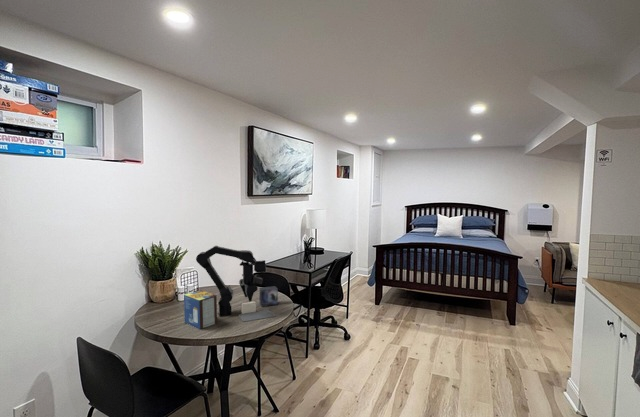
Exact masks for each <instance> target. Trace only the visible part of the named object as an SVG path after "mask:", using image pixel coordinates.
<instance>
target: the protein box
mask: <svg viewBox="0 0 640 417" xmlns="http://www.w3.org/2000/svg"><path fill="white" fill-rule="evenodd" d="M217 300H218V299H217V294H215V293H210V292H209V291H208V292H207V291H204V290H197V291H194V292H188V293H184V294H183V301H184V303H183V306H184V310H183V311H184V323H185V324H187V323H188V324H187V325H189V324H190V325H189V326H191V325H192V326H191V327H193V326H194V327H193V328H195V327H196V328H195V329H197V328H198V330H203V329H206V328H208V327H211V326H214V325H217V324H218V306H217V305H218V302H217Z"/></svg>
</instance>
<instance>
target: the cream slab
mask: <svg viewBox="0 0 640 417" xmlns="http://www.w3.org/2000/svg"><path fill="white" fill-rule="evenodd" d="M256 303H257V302H256V301H251V302H249V301H248V302H241V304H240V310H241V312H240V314H244V313H250V312H256V311H257V304H256Z"/></svg>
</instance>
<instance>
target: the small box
mask: <svg viewBox="0 0 640 417" xmlns="http://www.w3.org/2000/svg"><path fill="white" fill-rule="evenodd" d="M278 290H279V288H278V287H277V286H275V285H272V286H265V287H264V286H263V287H259V290H258V291H259V294H258V295H259V303H258V304H259V306H260V307H261V308H262V307H263V308H264V307H269V306H270V307H272V306H278V305H279V303H278V301H279V300H278V299H279V293H278V292H279V291H278Z"/></svg>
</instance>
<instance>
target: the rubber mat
mask: <svg viewBox="0 0 640 417" xmlns="http://www.w3.org/2000/svg"><path fill="white" fill-rule="evenodd" d="M238 316H239V318H240V319H241V320H242V321H243V323H247V322H252V321H258V320H264V319H269V318H276V315H275V314H274V313H273V311H272V310H270V309H264V310H258V311H257V310H256V312H250V313H244V314H241V313H240V314H238Z"/></svg>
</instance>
